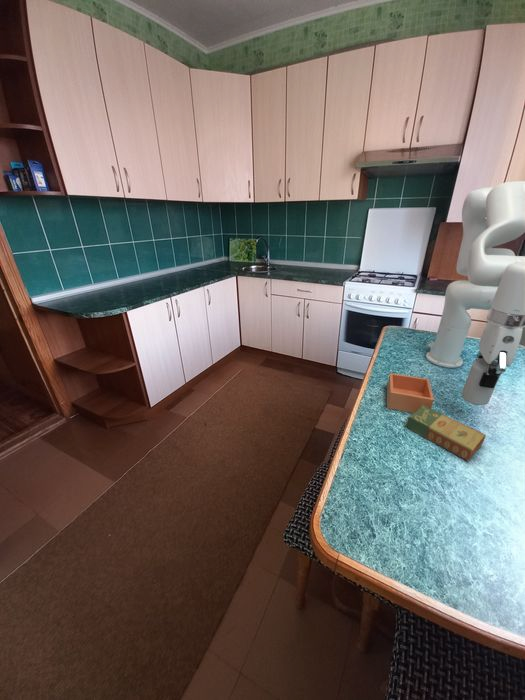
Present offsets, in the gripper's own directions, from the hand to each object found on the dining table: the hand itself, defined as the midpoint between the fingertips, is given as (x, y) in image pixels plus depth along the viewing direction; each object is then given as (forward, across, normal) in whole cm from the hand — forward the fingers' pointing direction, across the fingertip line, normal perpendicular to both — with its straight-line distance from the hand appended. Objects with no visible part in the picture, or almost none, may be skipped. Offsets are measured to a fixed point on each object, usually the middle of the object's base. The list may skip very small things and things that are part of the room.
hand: (482, 378), depth 77 cm
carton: (+14, -10, +8) cm, 19 cm away
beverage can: (+7, 0, 0) cm, 7 cm away
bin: (+14, +4, +16) cm, 22 cm away
